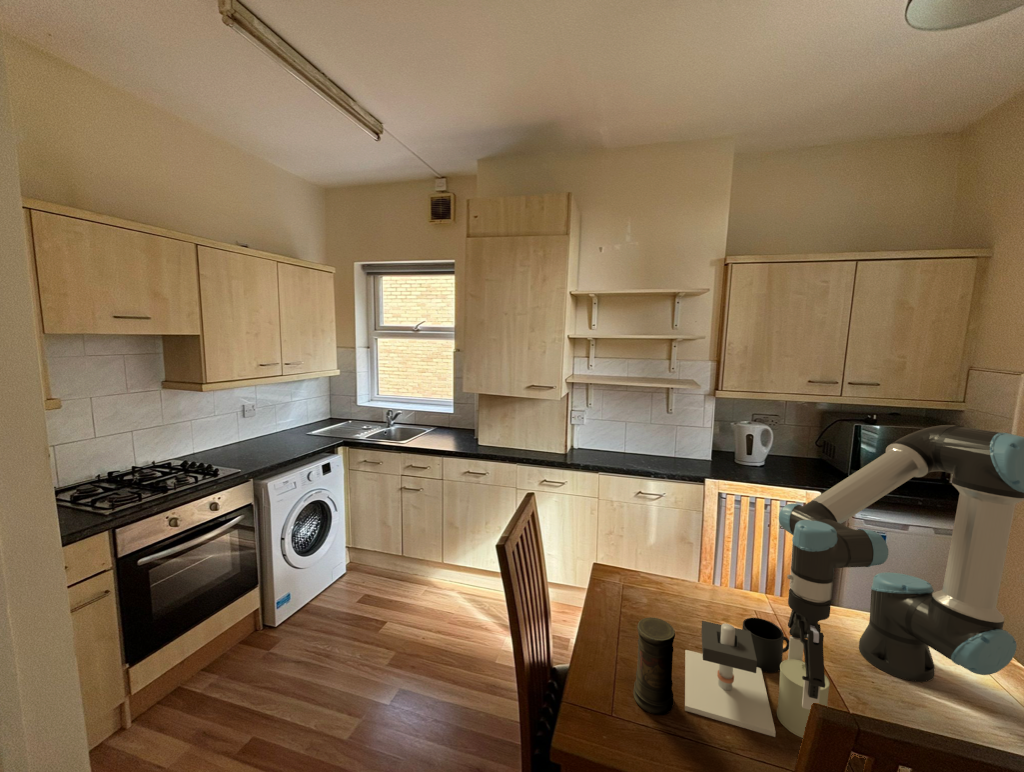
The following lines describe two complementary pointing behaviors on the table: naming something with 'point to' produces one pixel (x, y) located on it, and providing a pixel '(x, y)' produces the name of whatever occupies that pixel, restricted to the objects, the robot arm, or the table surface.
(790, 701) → the can
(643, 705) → the container
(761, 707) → the peg stand
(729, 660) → the grey square plate
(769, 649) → the mug
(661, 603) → the table surface
